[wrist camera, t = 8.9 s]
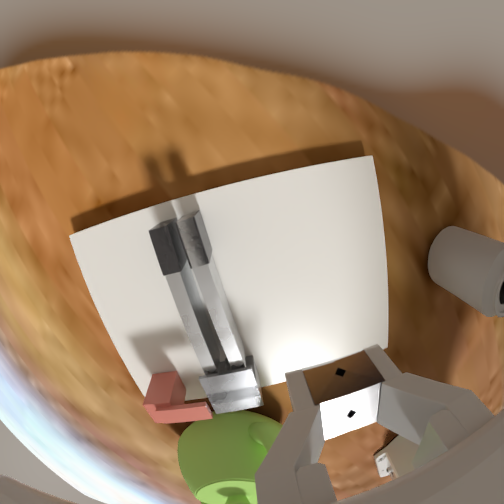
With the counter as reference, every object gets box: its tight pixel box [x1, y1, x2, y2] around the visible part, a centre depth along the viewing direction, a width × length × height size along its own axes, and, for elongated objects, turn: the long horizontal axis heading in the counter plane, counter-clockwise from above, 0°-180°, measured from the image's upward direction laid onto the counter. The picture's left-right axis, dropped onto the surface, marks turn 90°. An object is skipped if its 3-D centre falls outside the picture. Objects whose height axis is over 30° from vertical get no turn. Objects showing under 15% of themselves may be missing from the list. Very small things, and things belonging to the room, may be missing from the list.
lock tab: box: [143, 371, 213, 424], centre depth 25 cm, size 3×6×6 cm, turn 103°
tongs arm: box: [175, 210, 246, 370], centre depth 23 cm, size 14×2×4 cm, turn 15°
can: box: [428, 226, 504, 317], centre depth 22 cm, size 8×8×12 cm
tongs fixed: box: [149, 217, 264, 414], centre depth 24 cm, size 18×5×5 cm, turn 14°
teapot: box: [178, 410, 283, 504], centre depth 27 cm, size 22×15×13 cm
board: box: [69, 156, 388, 401], centre depth 27 cm, size 22×30×2 cm
